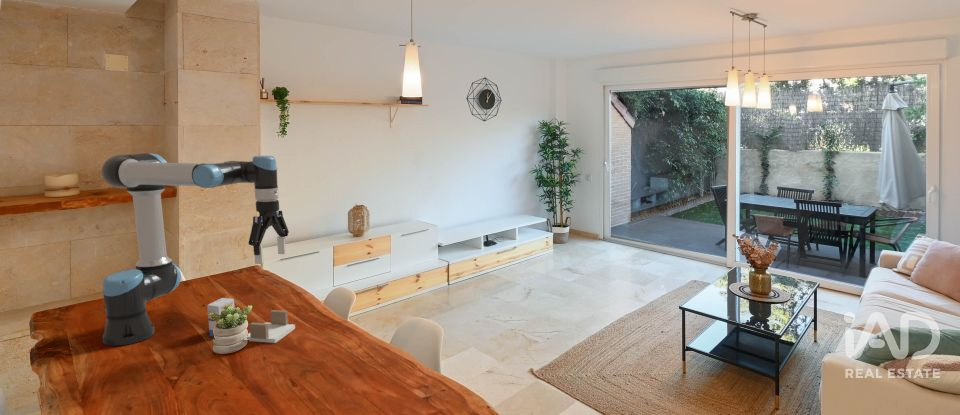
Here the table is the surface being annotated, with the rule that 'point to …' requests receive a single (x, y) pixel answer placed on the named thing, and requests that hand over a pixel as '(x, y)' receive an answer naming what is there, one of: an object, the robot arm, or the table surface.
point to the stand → (271, 328)
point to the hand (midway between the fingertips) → (271, 258)
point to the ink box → (217, 310)
